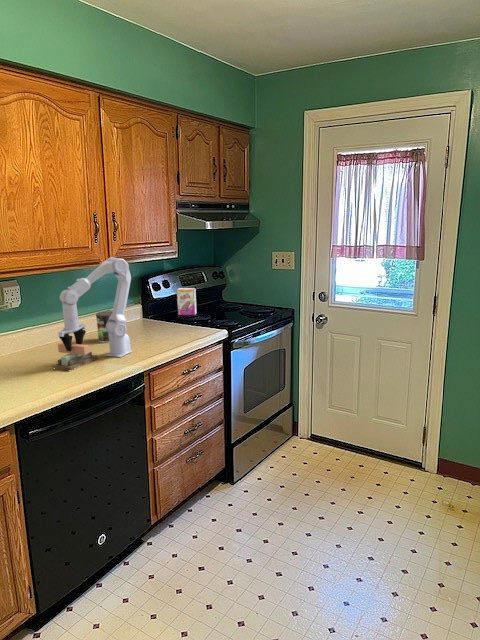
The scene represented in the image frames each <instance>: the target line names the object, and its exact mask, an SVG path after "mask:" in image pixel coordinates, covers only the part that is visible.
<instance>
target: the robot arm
mask: <svg viewBox="0 0 480 640" xmlns="http://www.w3.org/2000/svg"><path fill="white" fill-rule="evenodd" d="M129 267H130V266H129V263H128V262H127V261H126V260H125V259H123V258H119V257H118V258H117V257H114V256H111V257H108V258H107V259H106V260H104V261H103V262H102V263H101V264H99V266H97V268H95V269H94V270H93V271H92V272H91V273H90V274H89V275H87V276H86V277H81V278H76V280H75V282H74V283H73V284H72V285H70V286H68V287H67V289H64V290H62V291H61V293H60V295H59V297H58V298H59V300H60V302H61V303H62V305H61V307H62V315H63V323H64V327H63V329H61V330H60V331H58V333H57V335H58V337H59V339H60V341H61V343H64V345H65V348H66V350H67V351H71V350H72V345H71V344H73V343H72V340H73V337H74V339H75V344H82V345H83V342H84V337H85V334H86V332H87V331H86V330H85V329H86V324H85V323H82V324H80V323H79V316H78V315H79V314H78V307H77V303H78V301H79V298H81V296H83V295H84V294H85V293H87V292H88V291H89V290H90V289H91V285H92V284H93V283H94V282H96V281H97V280H99V279H100V278H101V277H103V276H105V274H114V276H115V277H116V279H117V280H118V282H117V286H116V291H115V292H116V293H115V296H114V303H113V308H112V311H113V313H112V315H111V316H110V317H109V321H108V322H107V324H106V330H107V331H108V332H109V345H108V346H109V353H107V354H106V355H105V356H107V357H116V358H122V357H124V356H127V355H129V354H130V353H133V350H132V349H131V340H130V336H129V335H128V334H127V331H128V329H127V328H128V327H127V319H126V317H125V314H126V309H127V303H128V298H129V292H130V286H131V281H132V275H131V272H130V268H129ZM70 334H73V335H70Z"/></svg>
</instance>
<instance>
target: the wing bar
mask: <svg viewBox="0 0 480 640" xmlns="http://www.w3.org/2000/svg"><path fill="white" fill-rule="evenodd" d="M71 345H72V350H71V351H67V350H66V348H65V345H64V343H63V342H61V343H58V344H57V349H58V353H63V354H69V353H71V354H81V355H86V354H88V353H89V352H90V347H89V346H90V345H89V344H83V343H82V344H76V343H71Z"/></svg>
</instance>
